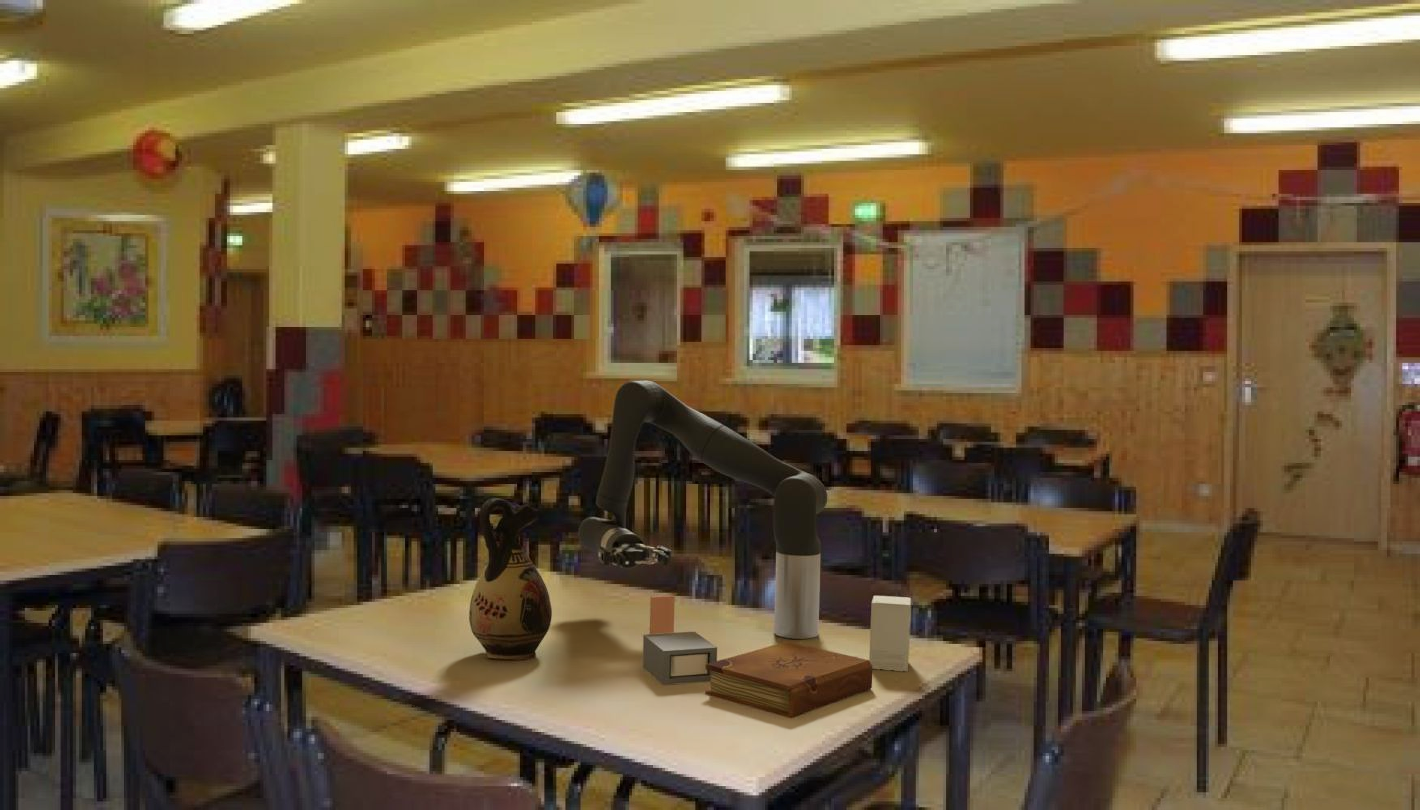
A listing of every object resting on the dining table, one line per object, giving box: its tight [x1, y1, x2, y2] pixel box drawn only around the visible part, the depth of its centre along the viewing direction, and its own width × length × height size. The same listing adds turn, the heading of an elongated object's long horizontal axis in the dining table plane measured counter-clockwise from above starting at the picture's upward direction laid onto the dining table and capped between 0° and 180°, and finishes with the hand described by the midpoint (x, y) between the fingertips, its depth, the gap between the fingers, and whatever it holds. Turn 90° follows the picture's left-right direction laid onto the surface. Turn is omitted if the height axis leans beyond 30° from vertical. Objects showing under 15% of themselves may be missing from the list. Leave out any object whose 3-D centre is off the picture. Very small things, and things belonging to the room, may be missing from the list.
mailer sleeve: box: [642, 631, 718, 686], centre depth 211 cm, size 10×12×6 cm
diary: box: [704, 641, 874, 719], centre depth 201 cm, size 23×19×6 cm
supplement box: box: [868, 595, 912, 672], centre depth 220 cm, size 7×7×13 cm
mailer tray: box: [643, 594, 708, 676], centre depth 213 cm, size 9×17×12 cm, turn 20°
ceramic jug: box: [468, 497, 553, 661], centre depth 220 cm, size 17×15×30 cm
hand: (644, 562), depth 230 cm, fingers open, 8 cm apart
